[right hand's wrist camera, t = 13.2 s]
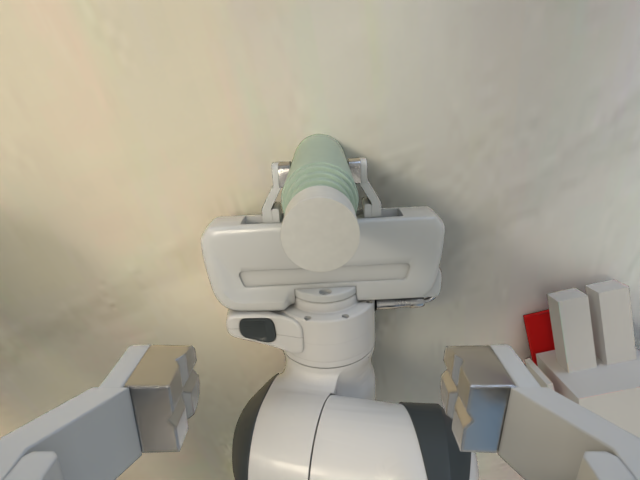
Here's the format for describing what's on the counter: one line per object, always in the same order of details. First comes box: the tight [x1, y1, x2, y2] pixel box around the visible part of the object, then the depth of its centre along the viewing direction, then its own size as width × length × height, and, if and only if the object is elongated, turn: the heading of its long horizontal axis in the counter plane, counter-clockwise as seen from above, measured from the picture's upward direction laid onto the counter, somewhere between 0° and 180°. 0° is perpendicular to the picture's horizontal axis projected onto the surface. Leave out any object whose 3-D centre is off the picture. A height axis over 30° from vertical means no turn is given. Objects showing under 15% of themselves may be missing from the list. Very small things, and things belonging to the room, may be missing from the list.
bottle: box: [281, 134, 359, 214], centre depth 29 cm, size 5×5×20 cm
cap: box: [280, 186, 360, 272], centre depth 21 cm, size 4×4×2 cm
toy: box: [523, 279, 640, 438], centre depth 43 cm, size 12×13×30 cm
